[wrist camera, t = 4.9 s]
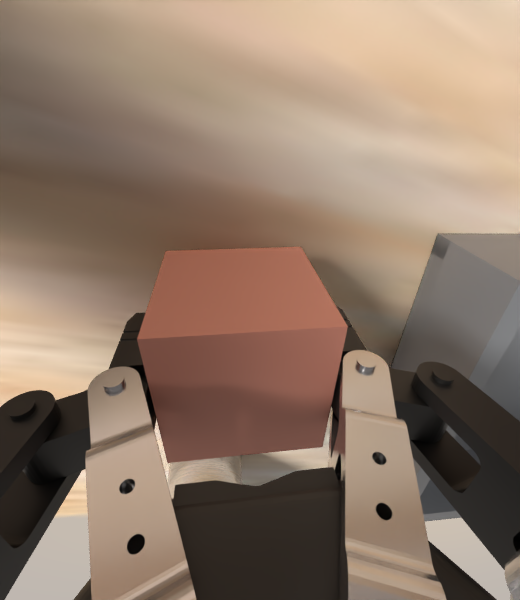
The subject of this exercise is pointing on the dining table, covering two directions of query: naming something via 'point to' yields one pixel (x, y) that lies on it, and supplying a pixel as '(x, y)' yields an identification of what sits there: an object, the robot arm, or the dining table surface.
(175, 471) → the steel cylinder
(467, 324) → the tote
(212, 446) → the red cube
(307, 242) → the dining table surface
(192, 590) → the robot arm
